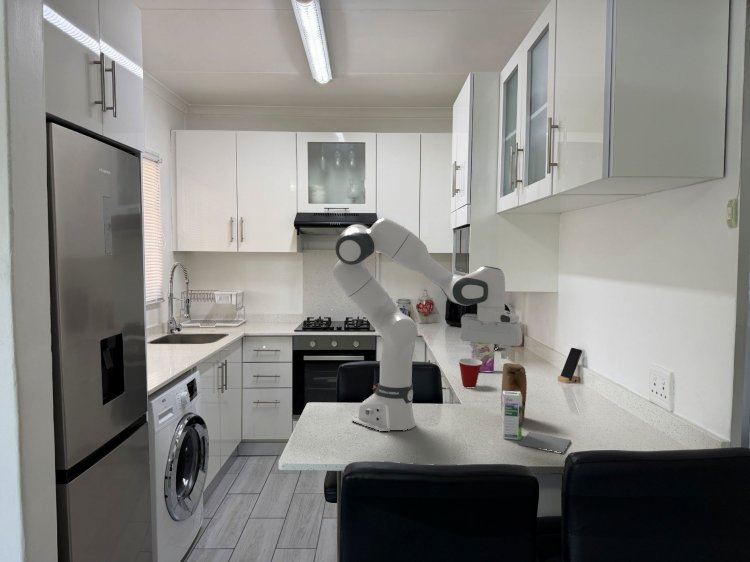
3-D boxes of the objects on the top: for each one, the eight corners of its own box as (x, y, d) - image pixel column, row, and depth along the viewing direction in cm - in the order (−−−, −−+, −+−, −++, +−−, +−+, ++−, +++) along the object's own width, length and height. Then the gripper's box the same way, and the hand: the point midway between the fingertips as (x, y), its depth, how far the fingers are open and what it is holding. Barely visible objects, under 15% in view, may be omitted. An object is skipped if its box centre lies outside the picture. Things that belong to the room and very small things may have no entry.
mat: (519, 445, 152) (519, 443, 152) (529, 433, 163) (529, 432, 163) (562, 454, 146) (563, 452, 146) (570, 441, 156) (570, 440, 156)
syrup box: (503, 439, 157) (504, 394, 157) (501, 432, 163) (502, 389, 163) (521, 440, 157) (522, 395, 156) (519, 434, 162) (520, 390, 162)
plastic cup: (470, 391, 215) (470, 364, 214) (452, 385, 224) (453, 359, 223) (487, 387, 221) (487, 361, 221) (469, 382, 230) (469, 357, 229)
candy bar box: (472, 372, 251) (473, 340, 250) (470, 370, 256) (471, 339, 255) (494, 372, 251) (495, 340, 250) (492, 370, 256) (492, 339, 255)
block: (500, 415, 182) (501, 361, 181) (520, 415, 182) (521, 362, 181) (505, 424, 171) (507, 368, 170) (527, 425, 171) (529, 368, 170)
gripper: (457, 313, 165) (456, 354, 166) (518, 318, 154) (517, 362, 155) (464, 312, 170) (464, 351, 171) (524, 316, 160) (523, 358, 160)
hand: (489, 356), depth 163 cm, fingers open, 8 cm apart
